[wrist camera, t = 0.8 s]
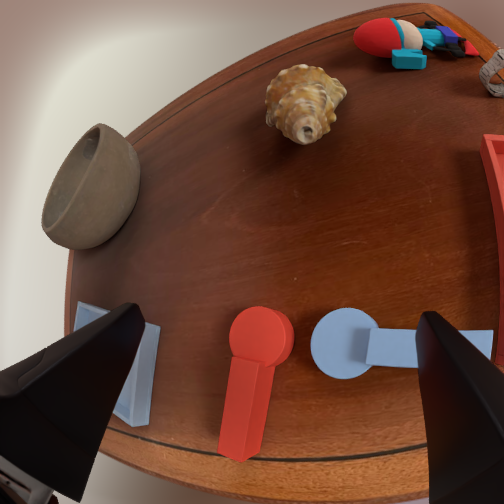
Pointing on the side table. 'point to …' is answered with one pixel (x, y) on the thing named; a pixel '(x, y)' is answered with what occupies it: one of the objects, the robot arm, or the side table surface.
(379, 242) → the side table surface
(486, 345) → the blue spoon
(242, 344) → the red spoon
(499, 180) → the red tray
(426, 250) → the side table surface
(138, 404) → the blue tray
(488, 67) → the wristwatch
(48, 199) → the bowl
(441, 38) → the toy figure
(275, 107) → the seashell
